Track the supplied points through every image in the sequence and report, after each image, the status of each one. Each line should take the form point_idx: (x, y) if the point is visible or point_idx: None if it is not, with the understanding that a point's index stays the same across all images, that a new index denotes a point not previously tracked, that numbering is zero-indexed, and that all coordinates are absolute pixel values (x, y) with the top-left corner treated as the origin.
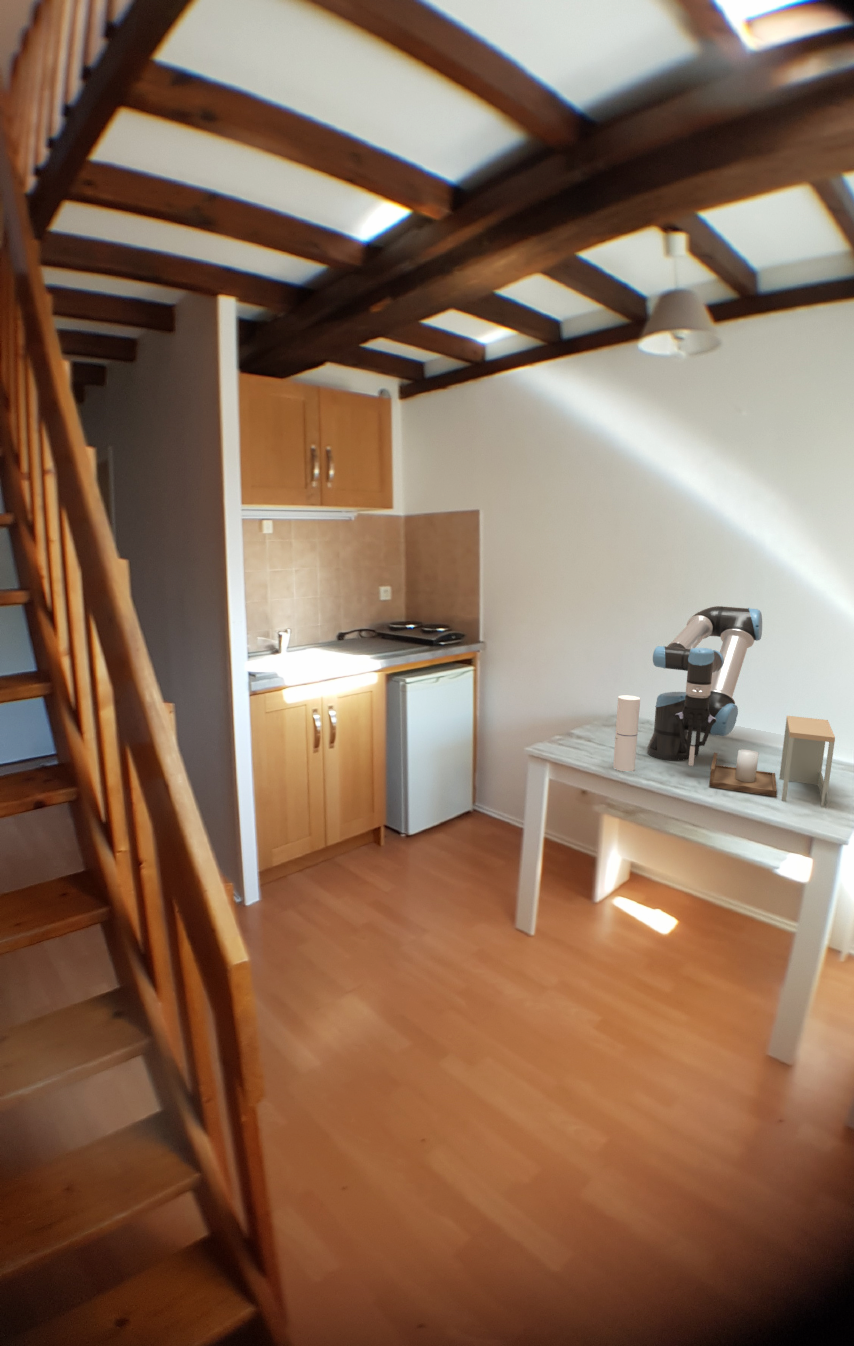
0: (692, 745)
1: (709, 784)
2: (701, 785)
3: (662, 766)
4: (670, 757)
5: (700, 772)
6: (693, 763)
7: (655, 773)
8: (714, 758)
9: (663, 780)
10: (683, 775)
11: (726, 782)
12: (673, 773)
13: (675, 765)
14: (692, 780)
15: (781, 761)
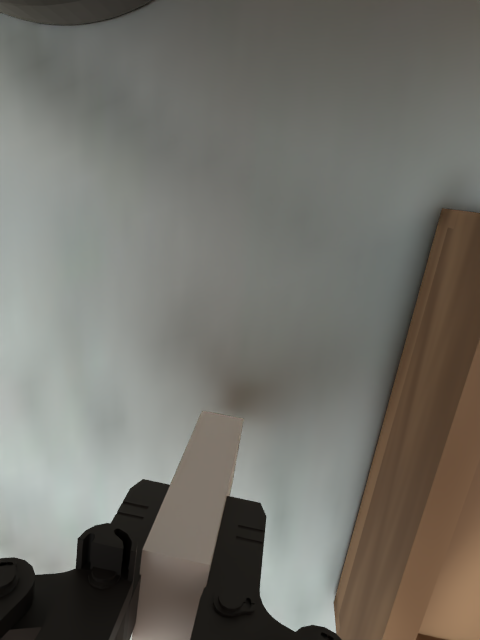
0: (163, 594)
1: (335, 615)
2: (290, 566)
3: (30, 232)
4: (61, 12)
5: (321, 294)
6: (230, 488)
7: (2, 414)
8: (453, 473)
9: (63, 531)
10: (185, 405)
11: (463, 598)
12: (117, 380)
13: (127, 163)
14: (241, 490)
15: None
